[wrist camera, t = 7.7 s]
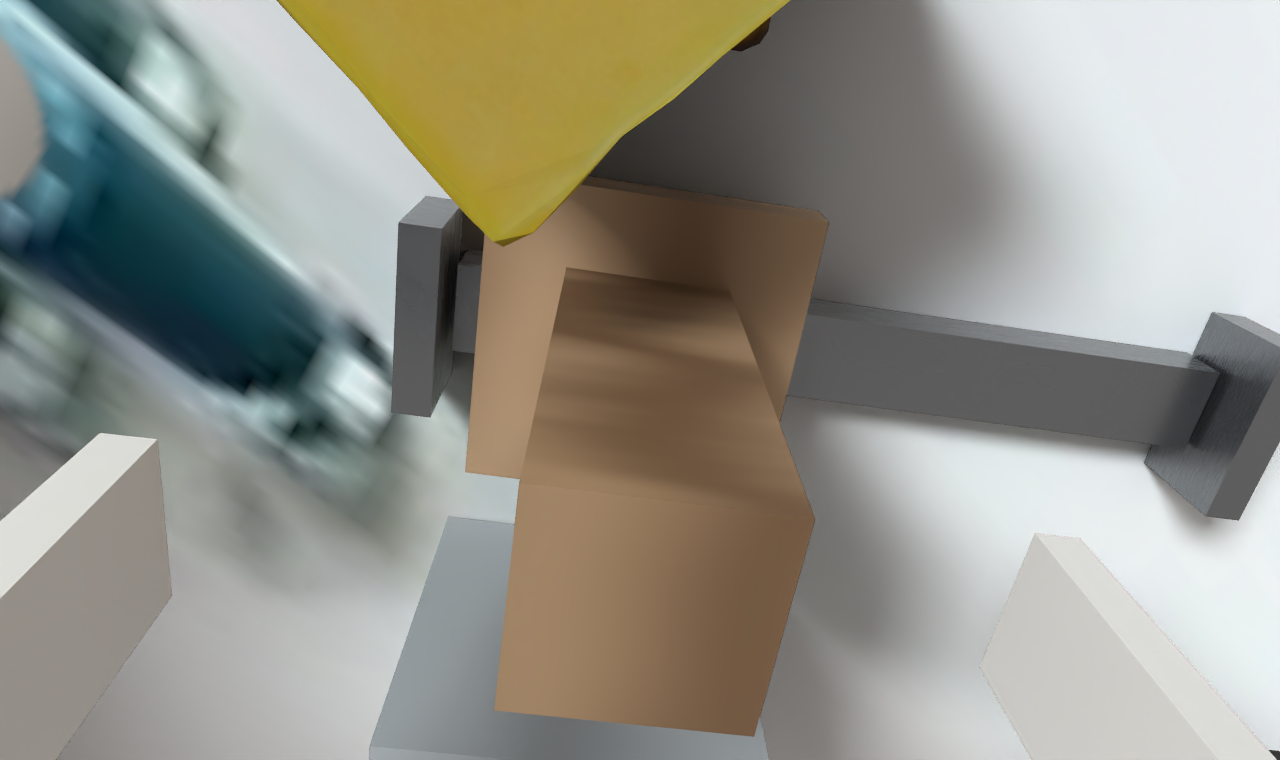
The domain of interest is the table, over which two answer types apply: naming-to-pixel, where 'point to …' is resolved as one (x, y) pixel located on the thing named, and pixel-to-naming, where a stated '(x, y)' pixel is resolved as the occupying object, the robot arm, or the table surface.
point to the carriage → (646, 451)
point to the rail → (933, 370)
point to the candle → (523, 84)
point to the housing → (468, 671)
